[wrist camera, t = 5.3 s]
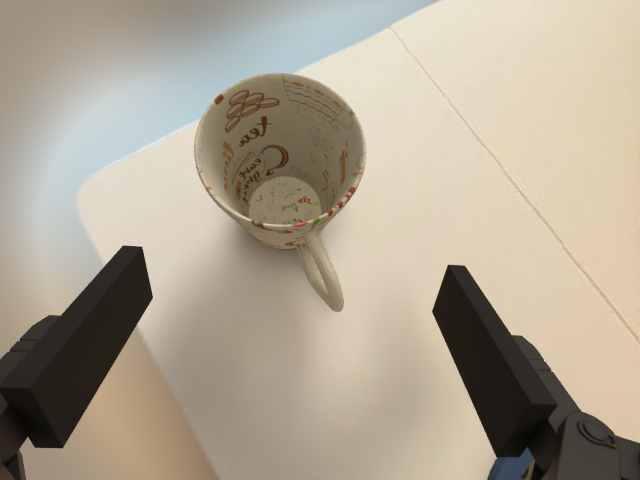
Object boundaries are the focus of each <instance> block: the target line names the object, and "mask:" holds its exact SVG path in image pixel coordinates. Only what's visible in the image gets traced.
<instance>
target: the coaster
mask: <svg viewBox="0 0 640 480" xmlns="http://www.w3.org/2000/svg"><path fill="white" fill-rule="evenodd" d="M533 459H534V458H533V456H532V454H531V452H530V451H529V449H528V447H527V448H526V450H525V451H524V452H523V454H522V455H521V457H520V458H515V457H498V459H497V460H496V462H495V464H494V466H493V468H492V470H491V473H490V476H489V478H488V480H523V479H522V478H520V477H521V475H522V474H523V472H524V471H525V470H526V468H527V467H528V466H529V464H530V463H531V462H532V461H533ZM526 479H527V477H526V478H525V479H524V480H526Z"/></svg>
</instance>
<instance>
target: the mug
mask: <svg viewBox="0 0 640 480" xmlns="http://www.w3.org/2000/svg"><path fill="white" fill-rule="evenodd" d="M194 154H195V162H196V167H197V171H198V174H199V177H200V179H201V181H202V183H203V185H204V187H205V189H206V190H207V192H208V193H209V195H210V196H211V198H212V199H213V200H214V201H215V202H216V204H217V205H218V206H219V207H220V208H221V209H222V210H223V211H224V212H226V213H227V214H228V215H229V216H230V217H232V218H233V219H234V220H235V221H236V222H238V223H239V224H240V225H241V226H242V227H244V228H245V229H246V230H247V231H248V232H250V233H251V234H252V235H253V236H254V237H256V238H257V239H258V240H259V241H261V242H262V243H264V244H266V245H268V246H271V247H274V248H278V249H292V248H296V249H297V252H298V255H299V257H300V260H301V262H302V265H303V267H304V269H305V272H306V274H307V277H308V279H309V281H310V283H311V285H312V286H313V288H314V289H315V290H316V291H317V293H318V294H319V295H320V297H321V298H322V299H323V300H324V301H325V303H326V304H327V305H328V306H329V307H330V308H331V309H332V310H333V311H336V312H340V311H341V310H342V309H343V305H344V301H343V294H342V290H341V287H340V283H339V280H338V277H337V274H336V272H335V269H334V267H333V265H332V263H331V261H330V259H329V257H328V254H327V252H326V250H325V248H324V246H323V244H322V242H321V240H320V238H319V237H318V235H317V234H318V233H319V232H320V231H321V230H322V229H323V228H324V227H325V226H326V225H327V224H328V223H329V222H330V220H331V219H332V218H333V217H334V216H335V215H336V214H337V213H338V212H339V211H340V210H341V209H342V208H343V207H344V206H345V205H346V204H347V202H348V201H349V200H350V198H351V197H352V195H353V194H354V192H355V191H356V189H357V187H358V185H359V183H360V181H361V178H362V175H363V172H364V167H365V161H366V145H365V138H364V134H363V131H362V127H361V125H360V123H359V121H358V118H357V117H356V115H355V113H354V112H353V110H352V109H351V108H350V106H349V105H348V104H347V103H346V102H345V100H344V99H343V98H341V97H340V96H339V95H338V94H337V93H336V92H334V91H333V90H332V89H330V88H328V87H327V86H325V85H323V84H321V83H320V82H317V81H315V80H313V79H310V78H307V77H304V76H299V75H294V74H286V73H285V74H284V73H271V74H263V75H258V76H254V77H251V78H247V79H245V80H242V81H240V82H238V83H236V84H234V85H233V86H231V87H229V88H228V89H226V90H225V91H224V92H222V93H221V94H220V95H219V96H218V97H217V98H216V99H215V100H214V101H213V102H212V103H211V104H210V106H209V107H208V108H207V110H206V111H205V113H204V115H203V116H202V118H201V121H200V123H199V126H198V129H197V132H196V137H195V145H194ZM304 244H307V246H308V248H309V250H310V252H311V254H312V256H313V258H314V260H315V262H316V264H317V266H318V268H319V270H320V273H321V275H322V277H321V276H320V274H319V272H318V270H317V269H316V267H315V266H314V264H313V262H312V260H311V258H310V257H309V255H308V253H307V251H306V250H305V248H304V247H303V245H304ZM322 278H323V279H322ZM323 280H324V281H323Z"/></svg>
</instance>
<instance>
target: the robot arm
mask: <svg viewBox="0 0 640 480" xmlns="http://www.w3.org/2000/svg"><path fill="white" fill-rule="evenodd" d="M152 298H153V296H152V291H151V286H150V282H149V277H148V272H147V267H146V263H145V258H144V253H143V249H142V247H137V246H122V247H121V249H120V250H119V251H118V252H117V253H116V254H115V255H114V256H113V258H112V259H111V260H110V261H109V262H108V263H107V264H106V265H105V267H104V268H103V269H102V270H101V271H100V272H99V274H97V276H96V277H95V278H94V279H93V280H92V281H91V282H90V283H89V285H88V286H87V287H86V288H85V289H84V290H83V291H82V292H81V294H80V295H79V296H78V297H77V298H76V299H75V300H74V301H73V303H72V304H71V305H70V306H69V307H68V308H67V309H66V310H65V312H64V313H63V314H62V315H61V316H55V315H49V316H47V317H46V318H44V319H42V320H41V321H39V322H38V323H36V324H35V325H33V326H32V327H31V328H30V329H29V330H28V331H27V332H26V333H25V334H24V335H23V336H22V337H21V338H20V341H18V342H16V344H15V345H14V346H13V347H12V348H11V349H10V351H9V352H7V353H6V354H5V355H4V356H3V357H2V358H1V359H0V480H26V477H25V470H24V464H23V458H22V454H21V453H20V451H19V448H20V447H21V446H22V444H23V443H24V441H25V440H26V438H27V437H29V439H30V440H31V442H32V444H33V445H34V447H35V448H63V447H64V445H65V443H66V442H67V440H68V438H69V437H70V435H71V433H72V432H73V430H74V429H75V427H76V425H77V423H78V422H79V420H80V419H81V417H82V415H83V413H84V412H85V410H86V409H87V407H88V405H89V403H90V402H91V400H92V398H93V397H94V395H95V393H96V392H97V390H98V388H99V387H100V385H101V383H102V382H103V380H104V378H105V377H106V375H107V373H108V371H109V370H110V368H111V367H112V365H113V363H114V362H115V360H116V358H117V357H118V355H119V353H120V352H121V350H122V348H123V347H124V345H125V343H126V342H127V340H128V338H129V337H130V335H131V333H132V332H133V330H134V328H135V327H136V325H137V323H138V322H139V320H140V318H141V317H142V315H143V313H144V312H145V310H146V308H147V307H148V305H149V303H150V302H151V300H152ZM432 312H433V315H434V317H435V319H436V321H437V324H438V326H439V328H440V330H441V333H442V335H443V337H444V339H445V342H446V344H447V346H448V348H449V351H450V353H451V355H452V357H453V360H454V362H455V364H456V367H457V369H458V371H459V373H460V376H461V378H462V380H463V382H464V385H465V387H466V389H467V391H468V394H469V396H470V398H471V400H472V403H473V405H474V407H475V409H476V412H477V414H478V416H479V419H480V421H481V423H482V425H483V428H484V430H485V432H486V434H487V437H488V439H489V441H490V443H491V446H492V448H493V450H494V452H495V455H496V457H515V458H520V457H521V455H522V454H523V452H524V451H525V450H526V448H527V447H528V449H529V451H530V452H531V454H532V456H533V458H534V459H533V461H532V462H531V463H530V464H529V466H528V467H527V468H526V470H525V471H524V472H523V474H522V475H521V477H520V478H522V479H523V480H524V479H525V478H526V477H527V479H526V480H640V443H637V442H634V441H631V440H628V439H625V438H622V437H618V436H616V435H615V434H614V433H613V431H612V430H611V429H610V428H608V427H607V426H606V425H605V424H604V423H603V422H601V421H600V420H598V419H597V418H595V417H594V416H591V415H589V414H587V413H584V412H582V411H581V410H580V409H579V408H578V406H577V405H576V403H575V402H574V401H573V399H572V398H571V396H570V395H569V394H568V392H567V391H566V389H565V388H564V387H563V385H562V384H561V383H560V381H559V380H558V378H557V377H556V376H555V374H554V373H553V372H551V369H550V367H549V366H548V365H547V363H546V362H544V359H543V358H542V356H541V355H540V353H539V352H538V351H537V349H536V348H535V347H534V346H533V345H532V344H531V343H530V342H528V341H527V340H526V339H525V338H524V337H522V336H516V335H511V334H510V332H509V331H508V329H507V328H506V326H505V325H504V323H503V322H502V320H501V319H500V317H499V316H498V314H497V313H496V311H495V310H494V308H493V307H492V305H491V304H490V302H489V301H488V300H487V298H486V297H485V295H484V294H483V292H482V291H481V289H480V288H479V286H478V285H477V283H476V282H475V280H474V279H473V277H472V276H471V274H470V273H469V271H468V270H467V268H466V267H465V266H460V265H448V267H447V269H446V272H445V275H444V278H443V281H442V284H441V287H440V290H439V293H438V296H437V299H436V302H435V305H434V307H433V310H432Z"/></svg>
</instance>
